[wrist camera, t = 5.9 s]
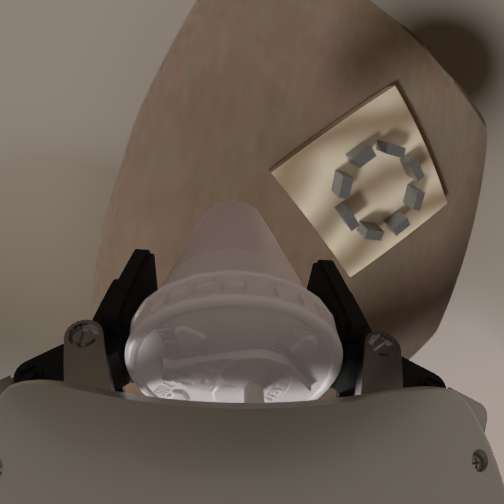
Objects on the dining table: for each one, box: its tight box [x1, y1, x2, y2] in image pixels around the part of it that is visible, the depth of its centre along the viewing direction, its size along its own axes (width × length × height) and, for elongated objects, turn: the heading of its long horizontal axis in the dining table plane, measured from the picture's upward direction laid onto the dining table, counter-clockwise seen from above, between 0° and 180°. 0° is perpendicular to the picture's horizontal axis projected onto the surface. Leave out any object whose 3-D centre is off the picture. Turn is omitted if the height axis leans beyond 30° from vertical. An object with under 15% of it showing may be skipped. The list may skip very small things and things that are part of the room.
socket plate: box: [269, 86, 447, 277], centre depth 31 cm, size 18×18×2 cm
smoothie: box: [125, 201, 343, 403], centre depth 10 cm, size 6×6×14 cm
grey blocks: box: [331, 140, 425, 241], centre depth 29 cm, size 11×11×2 cm
